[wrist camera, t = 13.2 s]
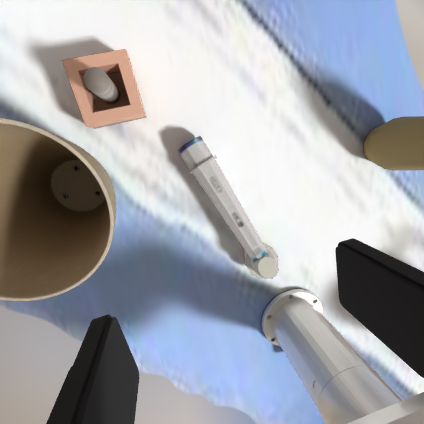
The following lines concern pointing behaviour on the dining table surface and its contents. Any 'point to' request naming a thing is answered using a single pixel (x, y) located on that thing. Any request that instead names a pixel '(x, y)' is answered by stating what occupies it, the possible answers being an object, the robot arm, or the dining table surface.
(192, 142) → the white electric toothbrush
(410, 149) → the squeeze bottle
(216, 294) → the dining table surface
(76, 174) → the plant pot
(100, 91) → the post stand
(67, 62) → the ring
